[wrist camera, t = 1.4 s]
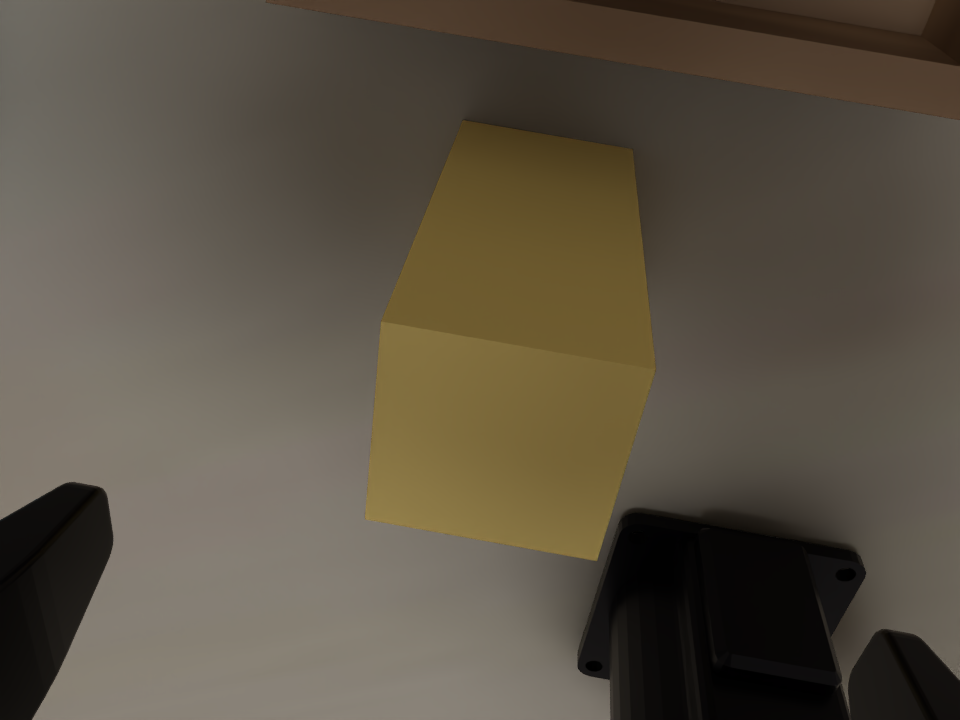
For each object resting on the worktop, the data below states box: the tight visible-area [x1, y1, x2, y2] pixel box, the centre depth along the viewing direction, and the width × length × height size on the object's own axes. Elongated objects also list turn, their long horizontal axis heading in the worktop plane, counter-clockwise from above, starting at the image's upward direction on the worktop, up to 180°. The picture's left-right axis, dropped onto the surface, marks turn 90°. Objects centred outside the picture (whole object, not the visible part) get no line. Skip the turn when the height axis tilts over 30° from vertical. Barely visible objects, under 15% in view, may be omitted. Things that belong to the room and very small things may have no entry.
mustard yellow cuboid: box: [365, 120, 656, 561], centre depth 15 cm, size 4×4×8 cm
